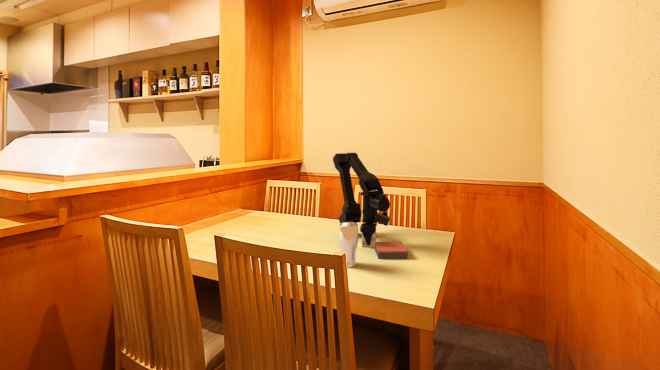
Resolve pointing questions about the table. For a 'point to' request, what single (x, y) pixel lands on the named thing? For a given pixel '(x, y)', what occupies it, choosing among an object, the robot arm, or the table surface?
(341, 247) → the beer glass
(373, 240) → the masu
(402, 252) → the red square block
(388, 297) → the table surface
